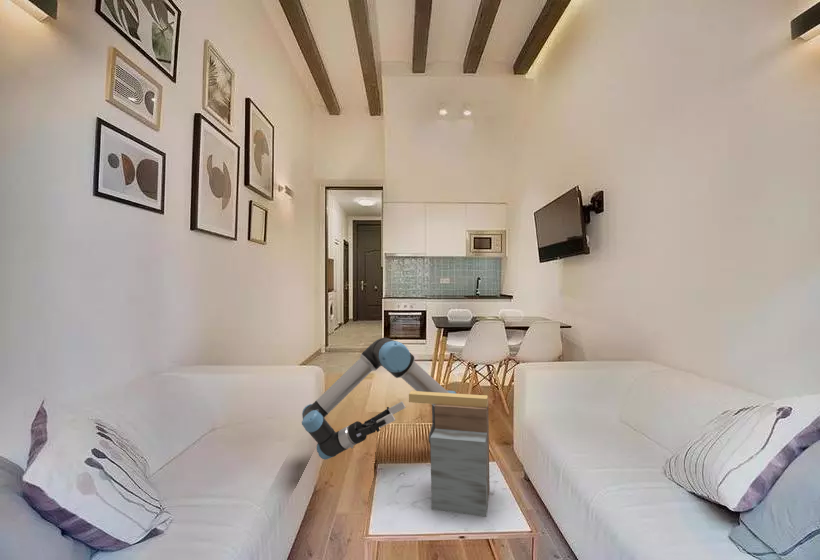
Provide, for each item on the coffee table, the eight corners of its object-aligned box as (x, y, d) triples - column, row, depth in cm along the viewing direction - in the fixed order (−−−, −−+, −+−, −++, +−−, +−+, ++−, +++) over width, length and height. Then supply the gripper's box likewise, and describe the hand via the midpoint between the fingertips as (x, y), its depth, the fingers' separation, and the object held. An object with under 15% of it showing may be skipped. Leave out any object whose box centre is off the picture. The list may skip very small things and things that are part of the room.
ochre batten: (411, 398, 150) (411, 390, 150) (488, 403, 142) (487, 395, 142) (408, 402, 146) (408, 393, 146) (487, 407, 139) (486, 398, 138)
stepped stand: (440, 484, 149) (438, 399, 149) (489, 490, 145) (488, 402, 144) (431, 509, 134) (429, 413, 134) (486, 516, 129) (484, 417, 129)
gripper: (369, 431, 165) (412, 408, 160) (344, 457, 141) (393, 432, 136) (360, 414, 166) (402, 391, 161) (334, 438, 142) (382, 412, 137)
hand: (398, 410), depth 149 cm, fingers open, 13 cm apart
